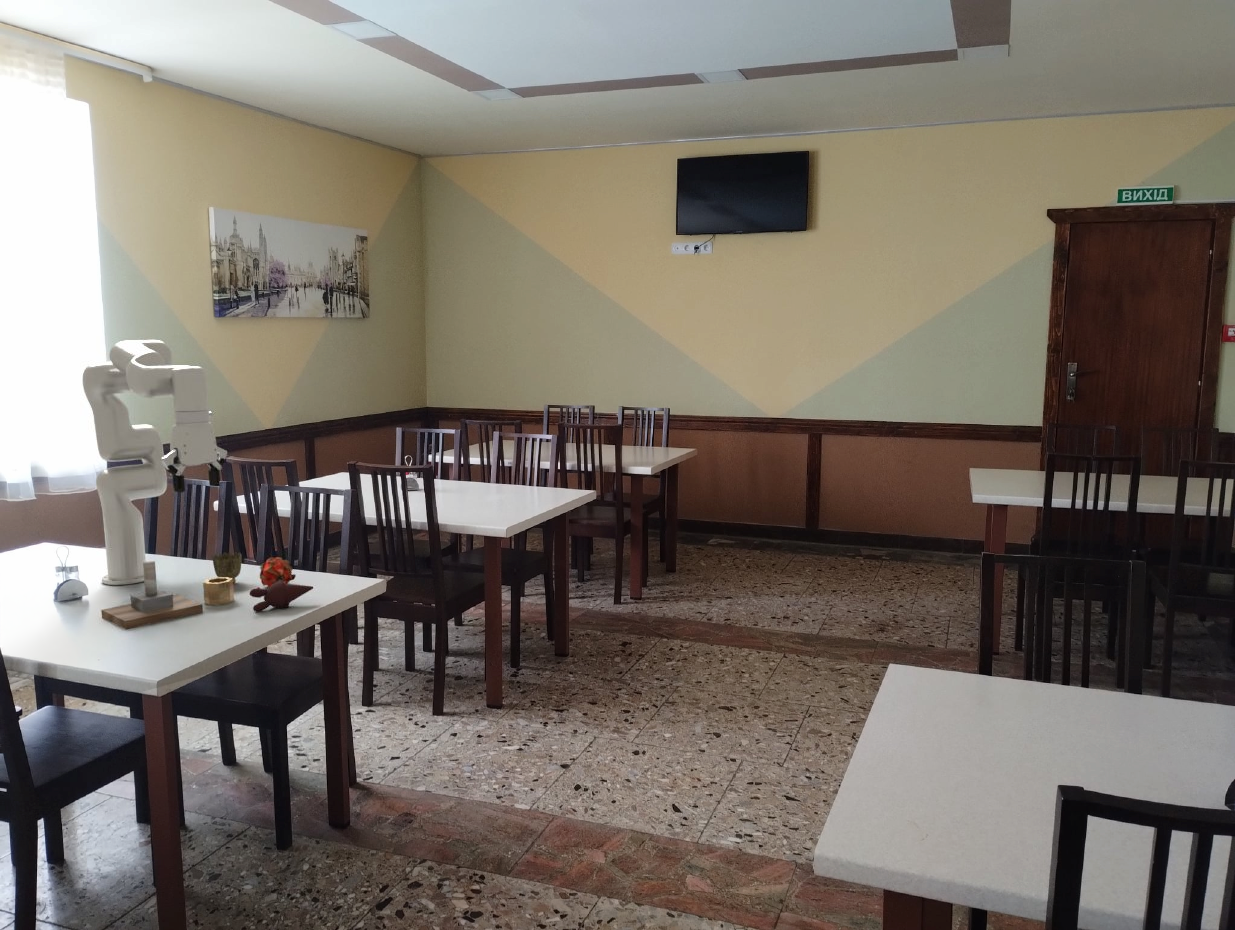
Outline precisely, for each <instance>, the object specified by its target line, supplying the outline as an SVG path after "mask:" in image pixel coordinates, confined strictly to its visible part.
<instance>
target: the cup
mask: <svg viewBox="0 0 1235 930" xmlns="http://www.w3.org/2000/svg"><path fill="white" fill-rule="evenodd" d="M242 557H243V554H242V553H241V552H238V553H237V552H235V553H234V554H233V555H232V554H231V552H228V553H227V552H223V553H222V554H220V553H218V555H217V554H215V555H212V556H211V559H212V565H213V569H214V573H215V575H216V577H229V578H232V579H233V585H234V584H236V582H237V579H236V578H237V577H239V575H240V573H241V570H242Z"/></svg>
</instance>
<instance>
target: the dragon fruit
mask: <svg viewBox="0 0 1235 930" xmlns="http://www.w3.org/2000/svg"><path fill="white" fill-rule="evenodd" d="M290 563H291V562H290V561H289V560H287V559H283V558H282V557H269V558H268V559H266V562H263V563H262V564H261V565H260V567H259V569H260V572H259V579H260V580H261V584H262V585H263V586H264V587H265V586H267V587H268V588H269V587H270V586H271V585H272V584H274V583H276V582H280V581H281V580H282V581H283V582H284V583H285V584H290V582H291V581H294V580H295V579H296V574H295V573H294V574H293V572H292V571H293V568H292V566H291V565H290Z"/></svg>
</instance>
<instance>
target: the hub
mask: <svg viewBox="0 0 1235 930" xmlns="http://www.w3.org/2000/svg"><path fill="white" fill-rule="evenodd" d="M202 586H203V587H202V588H203V600H204V601H203V603H204V604H205V605H208V606H223V605H226V604H230V603H229V602H231V603H232V602H233V601H234V600H235V598H234V597H235V594H234V591H235V590H234V584H233V579H232V578H229V577H217V576H216V577H212V578H207V579H205V580H203V581H202Z"/></svg>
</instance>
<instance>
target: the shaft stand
mask: <svg viewBox="0 0 1235 930" xmlns="http://www.w3.org/2000/svg"><path fill="white" fill-rule="evenodd" d="M143 571H144V581H143V583H144V592H141V593H140V592H139V593H135V594H131V595H129V596H130V603H127V604H121V605H118V606H113V607H108V608H104V609H101V610H100V611H101V612H100V613H101V619H103V620H105V621H107V622H110V623H111V624H113V625H116V626H118V627H120V628H122V629H124V630H129V629H134V628H138V627H143V626H147V625H151V624H156V623H162V622H165V621H169V620H173V619H178V618H182V617H183V618H184V617H187V616H192V615H195V614H196V615H197V614H200V613H204V605H203V603H202V602H198V601H195V600H193V599H190V598H187V597H186V596H183V595H180V594H177V593H176V594H173V593H170V592H167V591H165V590H163V589H158V585H157V570H156V560H155V561H154V560H148V561H146V562H143Z"/></svg>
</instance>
